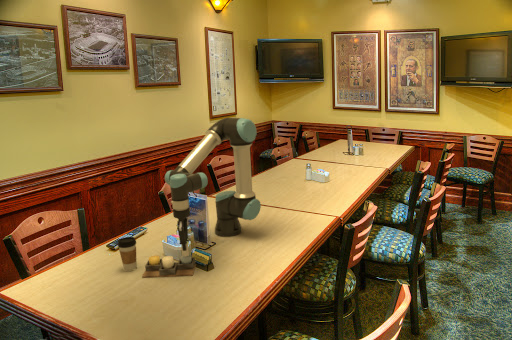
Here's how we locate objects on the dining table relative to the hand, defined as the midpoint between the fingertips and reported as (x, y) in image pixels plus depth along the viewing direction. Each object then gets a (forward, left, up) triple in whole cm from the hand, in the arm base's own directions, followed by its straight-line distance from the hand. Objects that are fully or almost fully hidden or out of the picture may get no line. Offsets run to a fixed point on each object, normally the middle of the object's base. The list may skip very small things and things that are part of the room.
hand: (185, 255), depth 207 cm
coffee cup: (+27, -2, -6) cm, 28 cm away
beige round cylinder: (+7, +4, -3) cm, 9 cm away
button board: (+7, +2, -6) cm, 10 cm away
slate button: (0, 0, -4) cm, 4 cm away
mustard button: (+15, 0, -4) cm, 16 cm away
